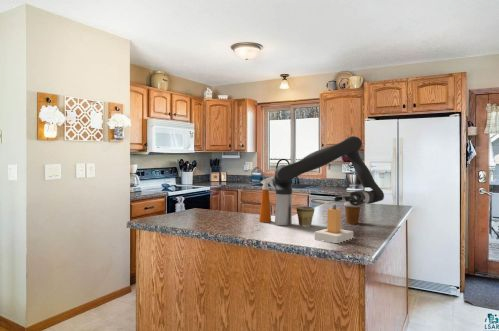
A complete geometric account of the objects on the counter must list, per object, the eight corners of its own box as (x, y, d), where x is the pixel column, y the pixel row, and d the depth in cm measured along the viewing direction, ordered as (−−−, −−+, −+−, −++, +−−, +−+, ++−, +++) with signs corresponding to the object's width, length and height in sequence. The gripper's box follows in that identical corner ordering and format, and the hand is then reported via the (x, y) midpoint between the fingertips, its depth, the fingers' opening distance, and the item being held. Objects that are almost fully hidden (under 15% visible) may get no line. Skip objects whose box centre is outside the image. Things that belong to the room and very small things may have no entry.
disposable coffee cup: (353, 225, 194) (354, 204, 193) (340, 222, 201) (340, 202, 201) (364, 223, 199) (364, 202, 199) (350, 220, 207) (351, 200, 206)
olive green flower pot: (314, 228, 186) (314, 209, 186) (295, 227, 188) (295, 208, 188) (314, 223, 199) (314, 205, 199) (297, 222, 201) (297, 205, 201)
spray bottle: (272, 223, 197) (273, 177, 196) (256, 221, 203) (257, 176, 202) (278, 221, 203) (279, 176, 202) (263, 219, 209) (263, 176, 208)
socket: (337, 244, 153) (337, 236, 153) (314, 239, 162) (314, 231, 162) (353, 238, 163) (353, 231, 163) (331, 234, 172) (331, 227, 172)
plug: (335, 240, 160) (335, 206, 159) (327, 238, 163) (327, 205, 162) (340, 239, 163) (341, 205, 162) (332, 237, 166) (332, 204, 165)
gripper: (347, 189, 190) (330, 191, 178) (372, 192, 179) (355, 194, 168) (347, 203, 190) (330, 205, 179) (371, 206, 179) (355, 209, 168)
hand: (342, 200), depth 173 cm, fingers open, 8 cm apart
